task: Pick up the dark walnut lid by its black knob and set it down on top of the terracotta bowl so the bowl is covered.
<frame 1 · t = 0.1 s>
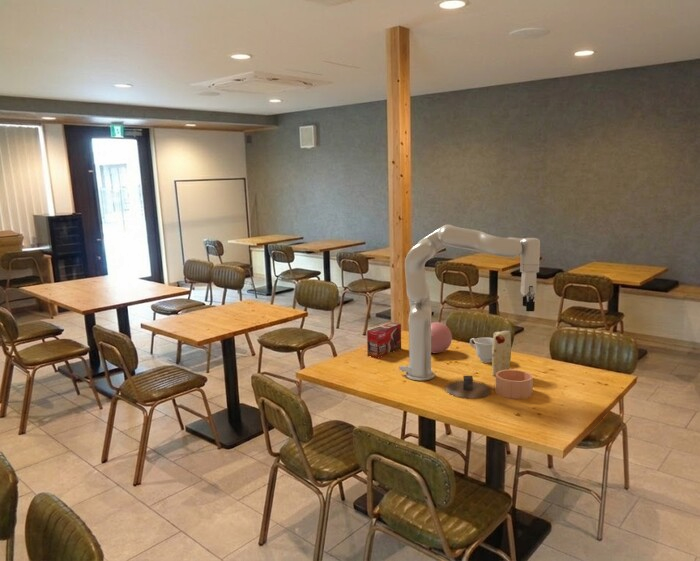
hand: (528, 308, 227), 31 cm above the table, tool pointing down, fingers open, 9 cm apart
lid: (467, 391, 222), on the table
bowl: (513, 392, 219), on the table
balloon: (433, 353, 272), on the table
teacup: (483, 360, 259), on the table
food model: (500, 375, 239), on the table
ice cream box: (384, 352, 276), on the table
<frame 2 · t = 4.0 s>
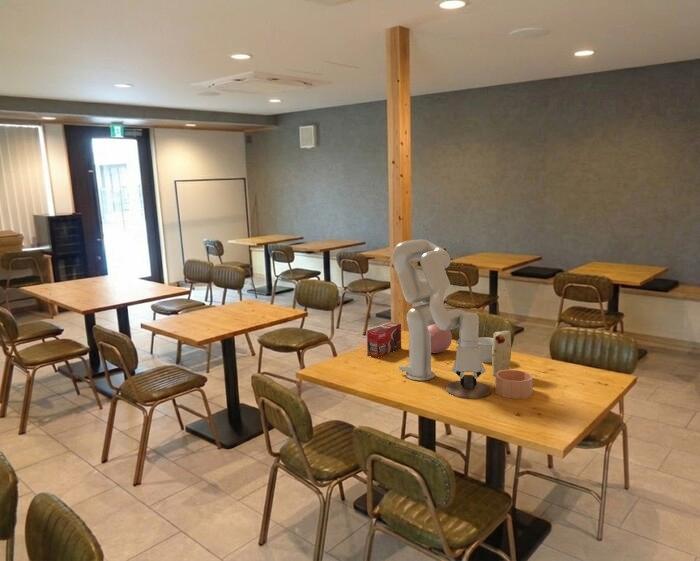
hand: (468, 386, 221), 2 cm above the table, tool pointing down, fingers closed on lid, 3 cm apart
lid: (468, 390, 222), on the table, touching gripper
everything else where it was.
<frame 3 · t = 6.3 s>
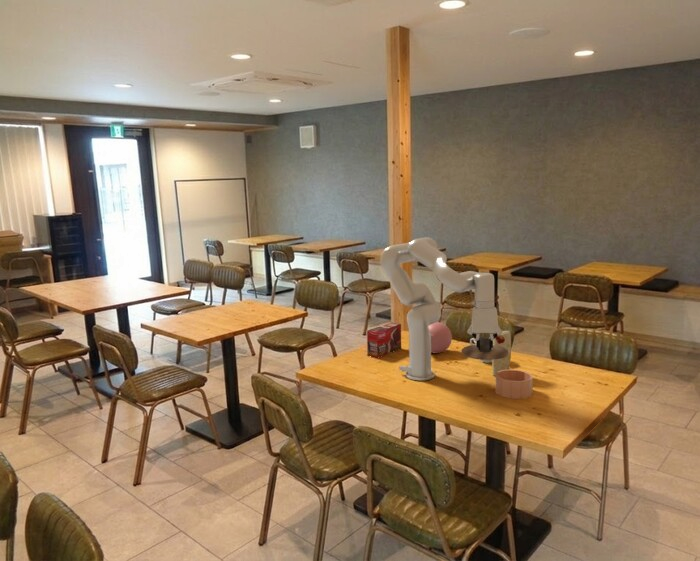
hand: (484, 348, 217), 18 cm above the table, tool pointing down, fingers closed on lid, 3 cm apart
lid: (484, 353, 218), point 16 cm above the table, touching gripper
everything else where it was.
when the fingers open (10 cm above the table, at t = 8.6 s): lid drops 1 cm, resting on bowl.
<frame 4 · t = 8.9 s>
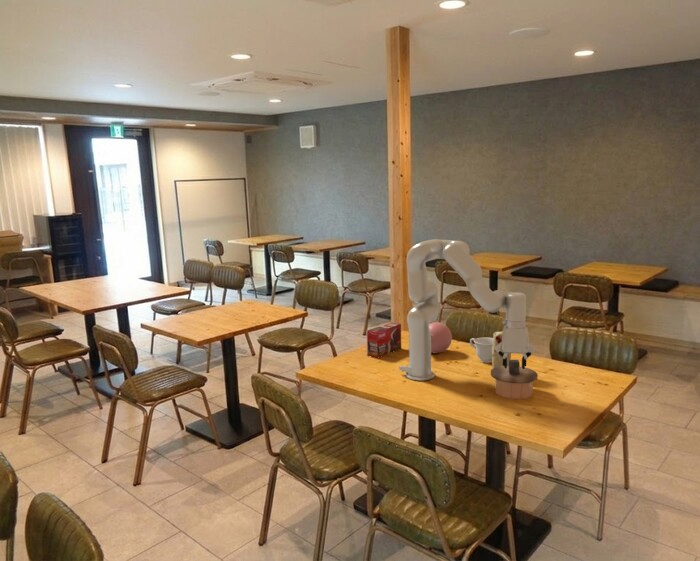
hand: (514, 367, 217), 10 cm above the table, tool pointing down, fingers open, 6 cm apart
lid: (513, 375, 218), point 7 cm above the table, touching bowl
everything else where it was.
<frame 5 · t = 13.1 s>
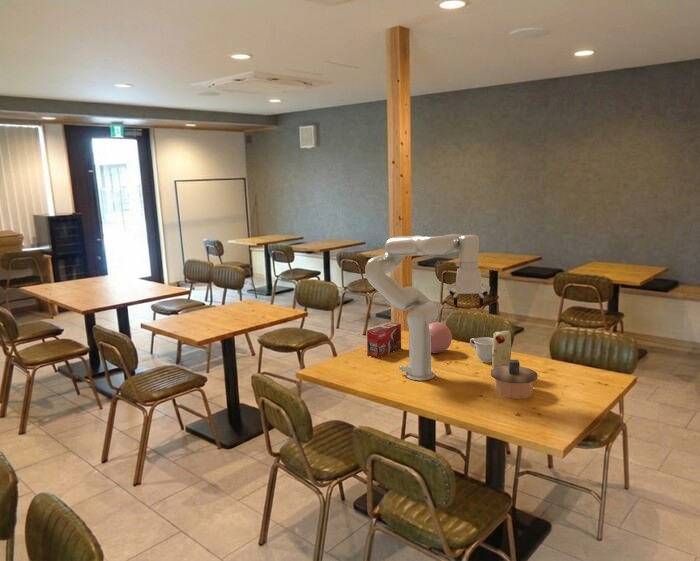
hand: (468, 306, 223), 33 cm above the table, tool pointing down, fingers open, 9 cm apart
nothing on the table moved.
at the end: lid 0.1 cm from the bowl (horizontally); lid point 7.0 cm above the table; lid tilted 0° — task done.
